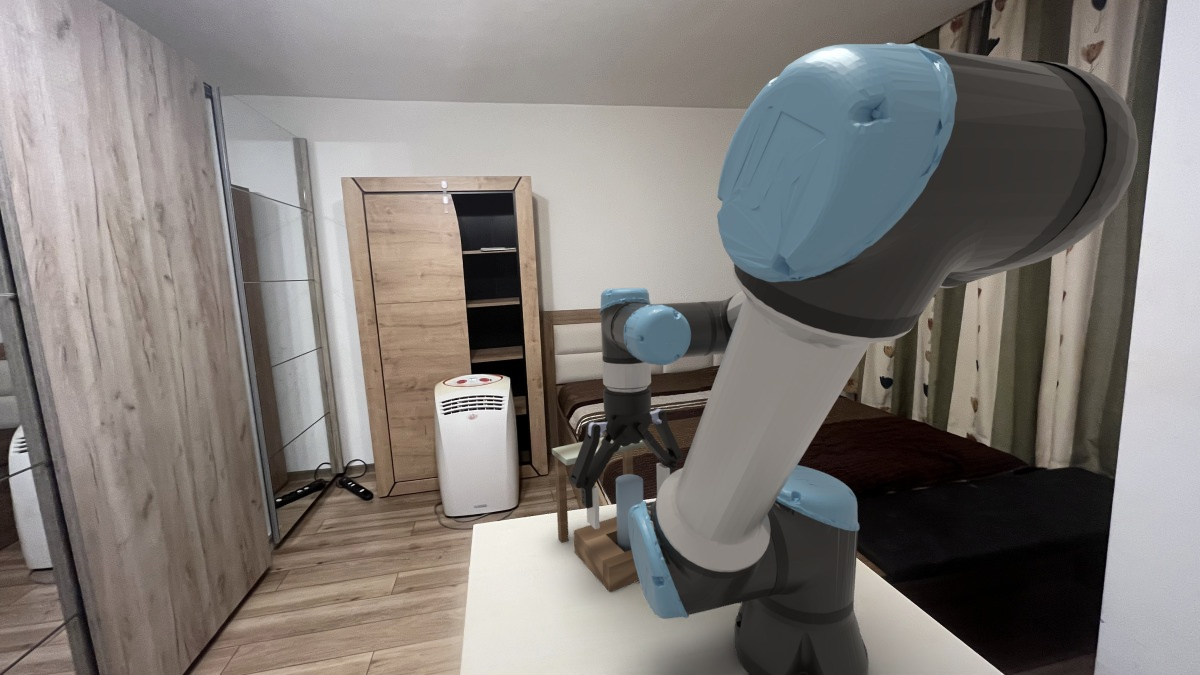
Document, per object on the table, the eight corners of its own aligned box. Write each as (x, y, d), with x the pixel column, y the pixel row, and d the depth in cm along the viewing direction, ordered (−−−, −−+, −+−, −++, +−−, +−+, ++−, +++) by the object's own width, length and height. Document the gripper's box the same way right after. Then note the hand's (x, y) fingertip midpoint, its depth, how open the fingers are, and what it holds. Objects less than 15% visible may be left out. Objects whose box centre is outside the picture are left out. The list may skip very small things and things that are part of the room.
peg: (634, 549, 81) (633, 472, 79) (649, 562, 78) (648, 481, 76) (612, 557, 79) (610, 478, 77) (626, 571, 75) (624, 488, 74)
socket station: (688, 560, 78) (687, 461, 76) (604, 594, 70) (600, 486, 68) (630, 514, 93) (628, 431, 91) (556, 538, 85) (551, 448, 83)
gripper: (675, 372, 84) (676, 486, 86) (544, 393, 72) (550, 524, 75) (703, 379, 77) (704, 502, 80) (565, 404, 65) (571, 547, 68)
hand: (629, 513), depth 77 cm, fingers open, 13 cm apart
